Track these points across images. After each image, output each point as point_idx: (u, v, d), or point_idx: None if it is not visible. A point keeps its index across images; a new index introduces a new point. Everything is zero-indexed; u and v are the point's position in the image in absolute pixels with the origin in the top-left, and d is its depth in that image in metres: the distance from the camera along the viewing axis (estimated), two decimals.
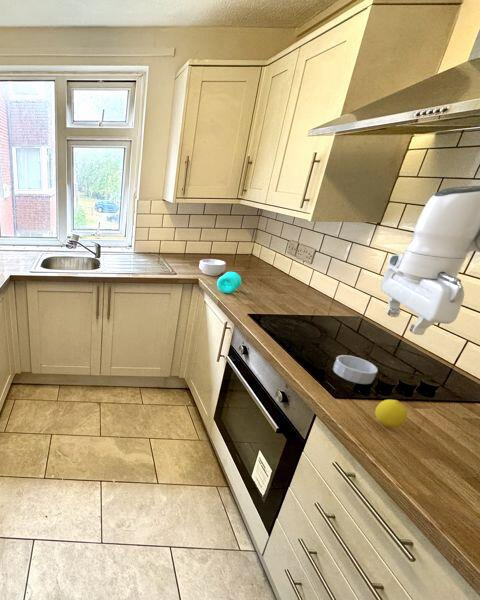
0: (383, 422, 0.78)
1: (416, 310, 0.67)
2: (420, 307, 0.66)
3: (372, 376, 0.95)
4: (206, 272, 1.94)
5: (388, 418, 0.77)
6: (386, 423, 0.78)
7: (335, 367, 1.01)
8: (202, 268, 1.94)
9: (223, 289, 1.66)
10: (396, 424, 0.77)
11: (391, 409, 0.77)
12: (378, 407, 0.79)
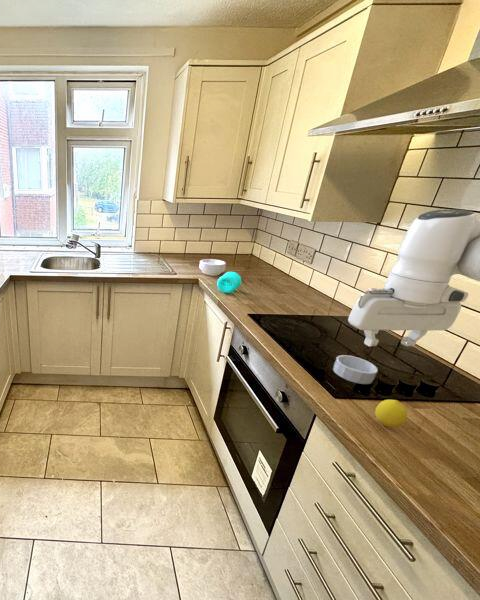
0: (383, 422, 0.78)
1: None
2: None
3: (372, 376, 0.95)
4: (206, 272, 1.94)
5: (388, 418, 0.77)
6: (386, 423, 0.78)
7: (335, 367, 1.01)
8: (202, 268, 1.94)
9: (223, 289, 1.66)
10: (396, 424, 0.77)
11: (391, 409, 0.77)
12: (378, 407, 0.79)
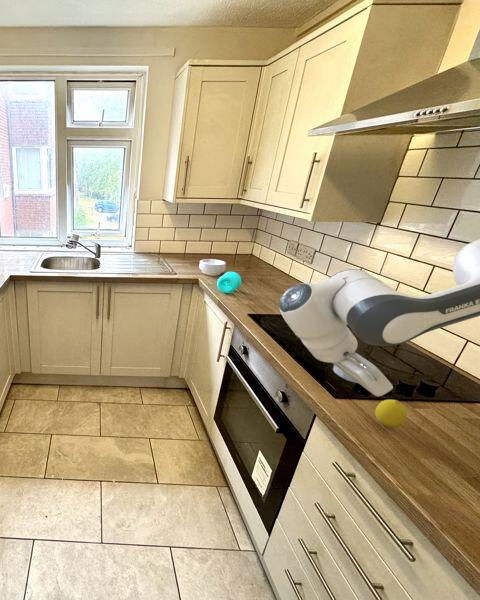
0: (383, 422, 0.78)
1: None
2: (359, 382, 0.68)
3: None
4: (206, 272, 1.94)
5: (388, 418, 0.77)
6: (386, 423, 0.78)
7: (335, 367, 1.01)
8: (202, 268, 1.94)
9: (223, 289, 1.66)
10: (396, 424, 0.77)
11: (391, 408, 0.77)
12: (378, 407, 0.79)
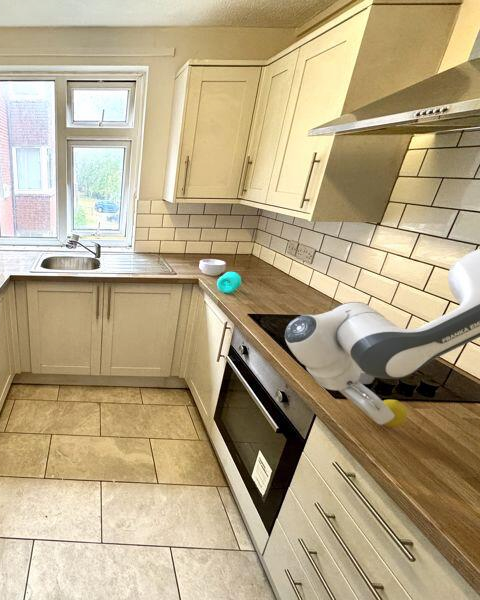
0: None
1: None
2: (362, 410, 0.71)
3: (372, 376, 0.95)
4: (206, 272, 1.94)
5: None
6: (386, 423, 0.78)
7: None
8: (202, 268, 1.94)
9: (223, 289, 1.66)
10: (396, 424, 0.77)
11: (391, 408, 0.77)
12: None
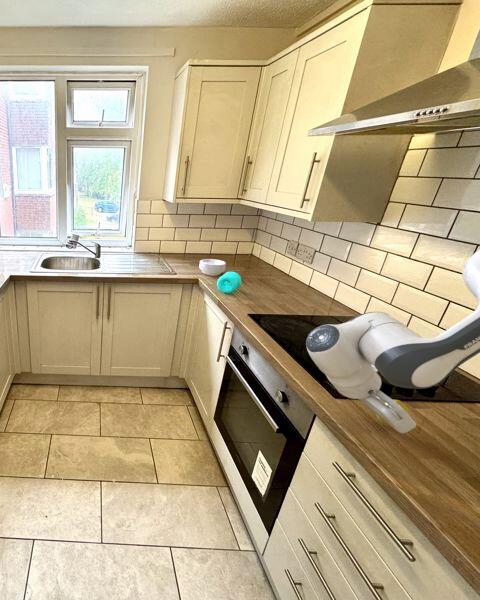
0: (384, 421, 0.78)
1: None
2: (382, 418, 0.72)
3: None
4: (206, 272, 1.94)
5: None
6: None
7: None
8: (202, 268, 1.94)
9: (223, 289, 1.66)
10: None
11: None
12: None
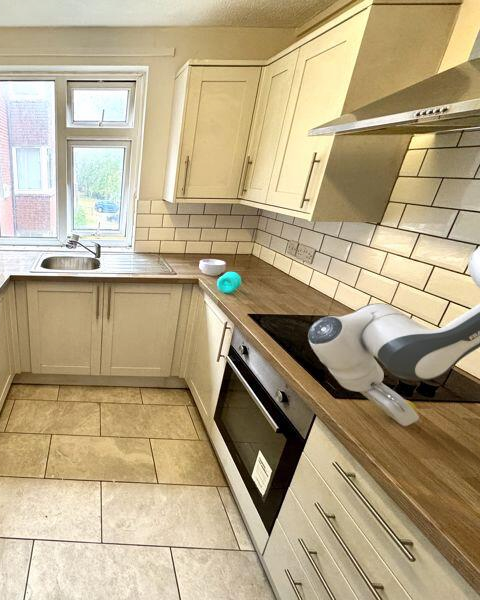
0: None
1: (384, 411, 0.72)
2: (385, 411, 0.71)
3: None
4: (206, 272, 1.94)
5: None
6: None
7: None
8: (202, 268, 1.94)
9: (223, 289, 1.66)
10: None
11: None
12: None
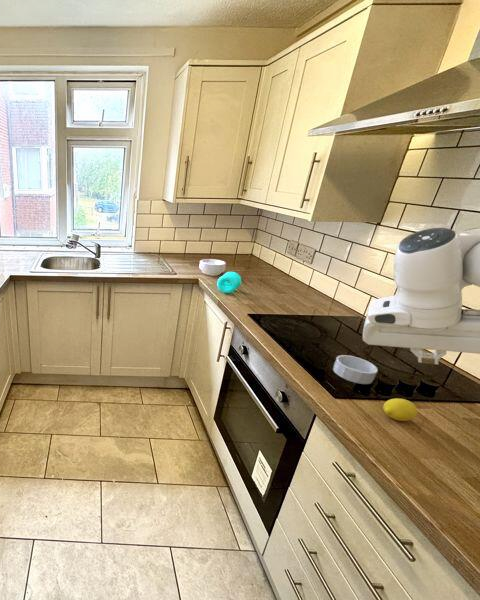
0: (392, 401, 0.82)
1: (467, 350, 0.61)
2: (473, 347, 0.60)
3: (372, 376, 0.95)
4: (206, 272, 1.94)
5: (400, 399, 0.81)
6: (395, 401, 0.81)
7: (335, 367, 1.01)
8: (202, 268, 1.94)
9: (223, 289, 1.66)
10: (404, 405, 0.80)
11: None
12: None
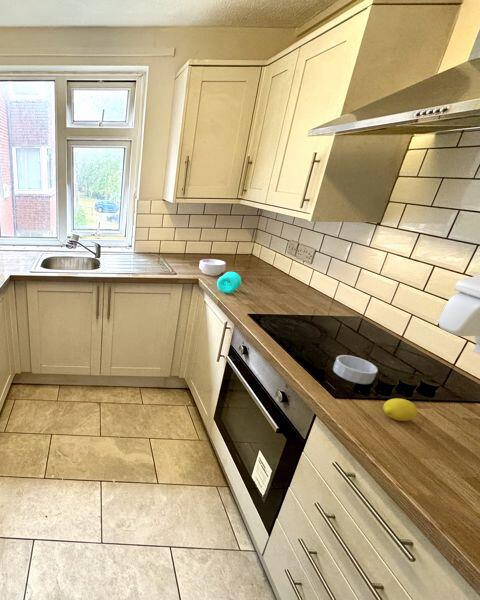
0: (392, 401, 0.82)
1: None
2: None
3: (372, 376, 0.95)
4: (206, 272, 1.94)
5: (400, 399, 0.81)
6: (395, 401, 0.81)
7: (335, 367, 1.01)
8: (202, 268, 1.94)
9: (223, 289, 1.66)
10: (404, 405, 0.80)
11: None
12: None
